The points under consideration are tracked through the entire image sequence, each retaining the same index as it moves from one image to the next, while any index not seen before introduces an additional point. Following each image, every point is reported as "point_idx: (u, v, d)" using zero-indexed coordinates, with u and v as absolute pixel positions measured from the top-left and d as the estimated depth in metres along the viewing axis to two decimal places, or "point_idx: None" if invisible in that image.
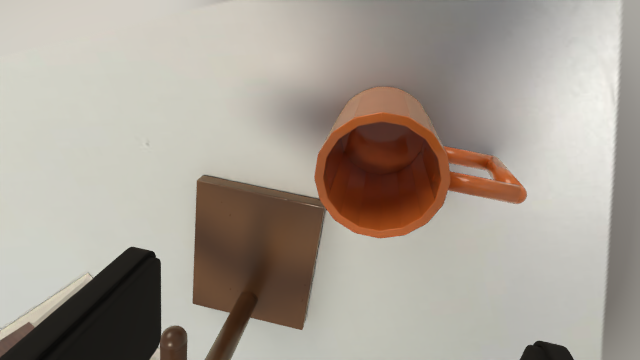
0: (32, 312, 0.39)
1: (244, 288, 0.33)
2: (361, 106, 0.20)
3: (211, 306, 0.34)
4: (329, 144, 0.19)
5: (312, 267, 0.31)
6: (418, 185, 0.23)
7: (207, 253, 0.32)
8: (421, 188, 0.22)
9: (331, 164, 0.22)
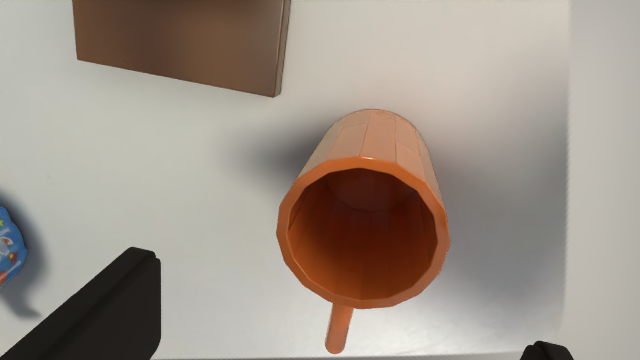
0: None
1: None
2: None
3: None
4: (410, 179, 0.14)
5: (181, 78, 0.22)
6: (329, 238, 0.19)
7: None
8: (330, 248, 0.19)
9: None
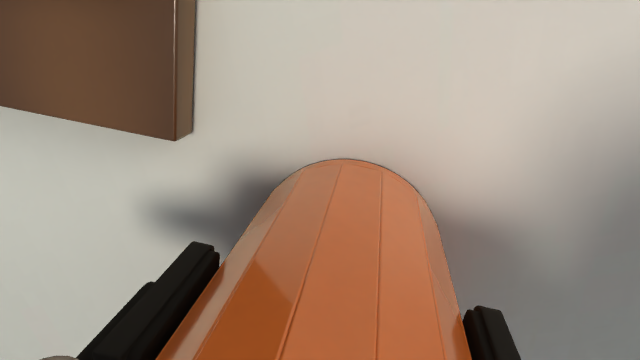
0: None
1: None
2: None
3: None
4: None
5: (21, 108, 0.13)
6: None
7: None
8: None
9: None
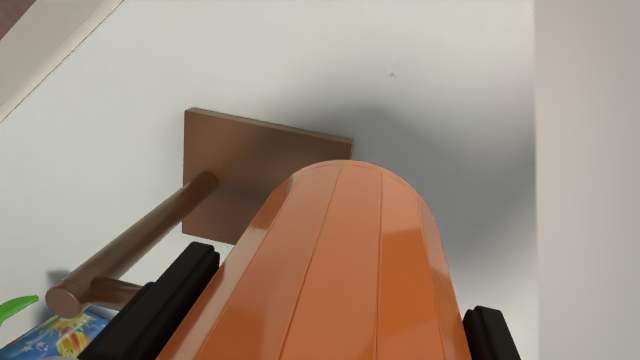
0: None
1: (221, 178, 0.29)
2: None
3: (186, 135, 0.28)
4: None
5: None
6: None
7: (259, 141, 0.27)
8: None
9: None
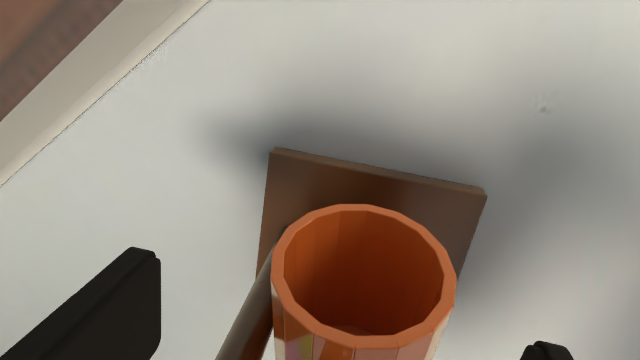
0: None
1: None
2: None
3: (269, 182, 0.22)
4: (410, 222, 0.16)
5: None
6: None
7: (364, 191, 0.21)
8: None
9: (355, 256, 0.18)
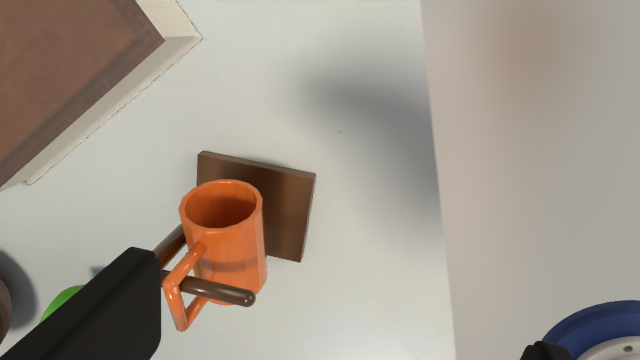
0: None
1: None
2: None
3: (199, 170, 0.39)
4: (251, 187, 0.33)
5: None
6: None
7: (250, 175, 0.39)
8: None
9: (233, 207, 0.35)
